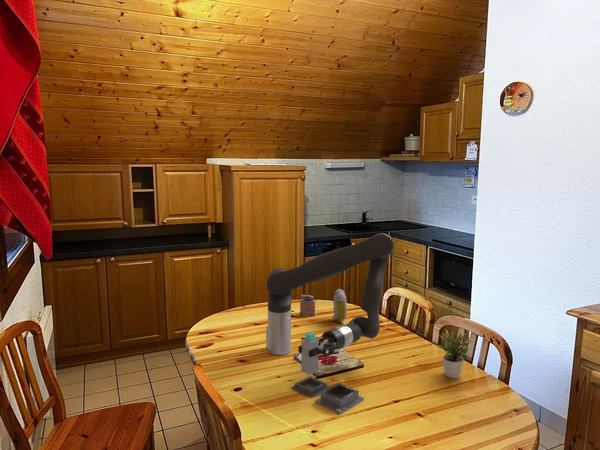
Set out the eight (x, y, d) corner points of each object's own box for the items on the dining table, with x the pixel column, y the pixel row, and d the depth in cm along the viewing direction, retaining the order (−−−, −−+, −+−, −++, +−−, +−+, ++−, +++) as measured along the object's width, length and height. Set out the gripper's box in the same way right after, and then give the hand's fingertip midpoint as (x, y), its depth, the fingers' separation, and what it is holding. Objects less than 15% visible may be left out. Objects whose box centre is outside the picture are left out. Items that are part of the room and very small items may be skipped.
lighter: (316, 314, 230) (316, 295, 228) (314, 316, 227) (314, 297, 225) (301, 312, 232) (301, 293, 231) (298, 315, 229) (298, 295, 228)
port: (315, 403, 146) (315, 392, 145) (339, 389, 154) (339, 380, 154) (339, 415, 139) (340, 404, 138) (363, 400, 147) (364, 390, 147)
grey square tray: (289, 388, 155) (289, 383, 155) (309, 378, 162) (309, 373, 162) (311, 399, 148) (311, 394, 148) (331, 388, 155) (331, 383, 155)
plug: (300, 371, 154) (301, 333, 153) (309, 367, 157) (310, 330, 155) (309, 375, 152) (310, 337, 150) (317, 371, 154) (318, 334, 153)
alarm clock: (346, 326, 214) (346, 294, 212) (331, 326, 214) (332, 294, 212) (344, 317, 226) (344, 287, 224) (330, 317, 226) (330, 287, 224)
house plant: (468, 389, 155) (471, 343, 153) (427, 379, 162) (429, 334, 160) (477, 373, 167) (480, 330, 165) (438, 364, 174) (440, 322, 172)
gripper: (322, 323, 168) (289, 335, 156) (354, 333, 158) (320, 347, 146) (322, 342, 169) (288, 356, 157) (353, 354, 159) (320, 370, 147)
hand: (304, 352), depth 151 cm, fingers closed on plug, 4 cm apart
